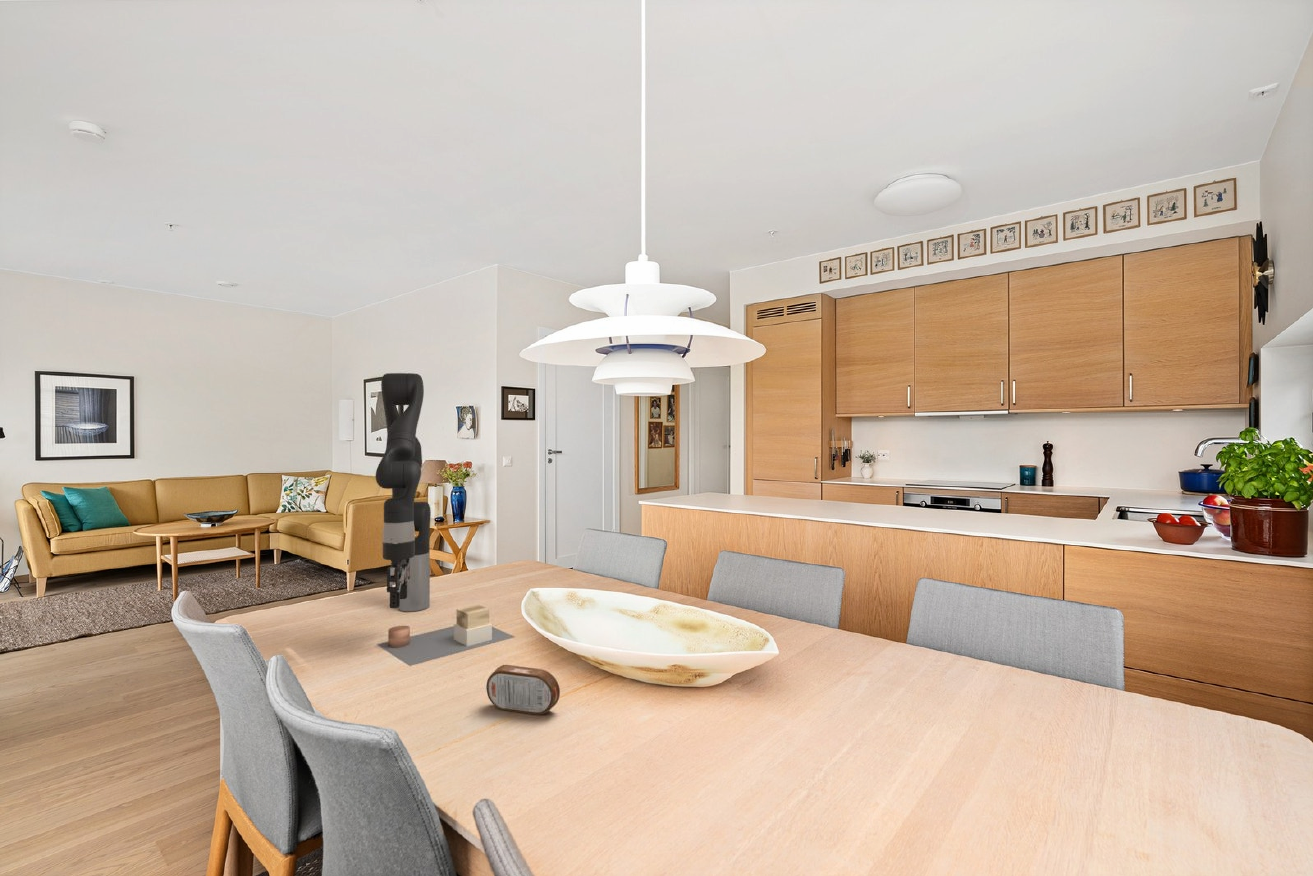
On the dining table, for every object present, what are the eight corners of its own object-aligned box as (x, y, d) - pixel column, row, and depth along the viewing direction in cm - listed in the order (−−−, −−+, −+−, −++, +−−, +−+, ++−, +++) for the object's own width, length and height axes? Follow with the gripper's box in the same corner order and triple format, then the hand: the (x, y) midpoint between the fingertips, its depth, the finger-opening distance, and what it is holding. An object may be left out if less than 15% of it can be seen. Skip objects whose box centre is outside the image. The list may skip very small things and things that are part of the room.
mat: (376, 648, 152) (376, 644, 152) (477, 623, 172) (477, 620, 172) (409, 670, 138) (409, 665, 138) (515, 640, 158) (515, 636, 158)
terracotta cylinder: (385, 644, 152) (385, 628, 152) (404, 639, 156) (404, 624, 156) (393, 649, 149) (393, 633, 149) (413, 644, 153) (413, 628, 153)
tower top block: (456, 624, 156) (456, 609, 156) (477, 619, 160) (477, 604, 160) (467, 629, 152) (467, 613, 152) (489, 624, 156) (489, 609, 156)
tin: (560, 712, 118) (560, 669, 118) (553, 719, 114) (553, 675, 114) (492, 703, 122) (492, 661, 122) (483, 710, 119) (483, 667, 119)
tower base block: (453, 639, 156) (453, 624, 156) (478, 633, 161) (478, 618, 161) (466, 646, 151) (466, 630, 151) (491, 639, 156) (491, 624, 156)
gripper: (389, 535, 159) (389, 597, 159) (375, 544, 145) (375, 611, 145) (419, 534, 160) (419, 595, 160) (408, 543, 146) (408, 610, 146)
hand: (398, 603), depth 152 cm, fingers open, 8 cm apart
